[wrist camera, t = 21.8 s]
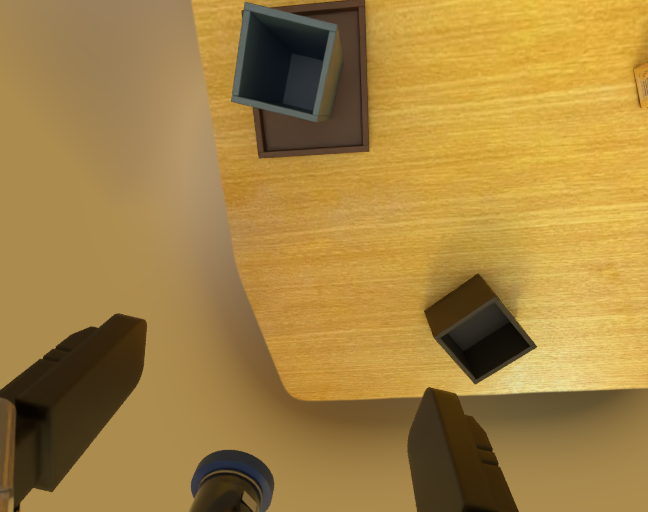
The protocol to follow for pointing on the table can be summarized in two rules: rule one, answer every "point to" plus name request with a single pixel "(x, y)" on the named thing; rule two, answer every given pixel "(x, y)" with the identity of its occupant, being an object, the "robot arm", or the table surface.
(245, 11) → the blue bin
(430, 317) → the charcoal bin
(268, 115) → the walnut tray
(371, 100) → the table surface
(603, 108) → the table surface
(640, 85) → the candy box
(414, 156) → the table surface
